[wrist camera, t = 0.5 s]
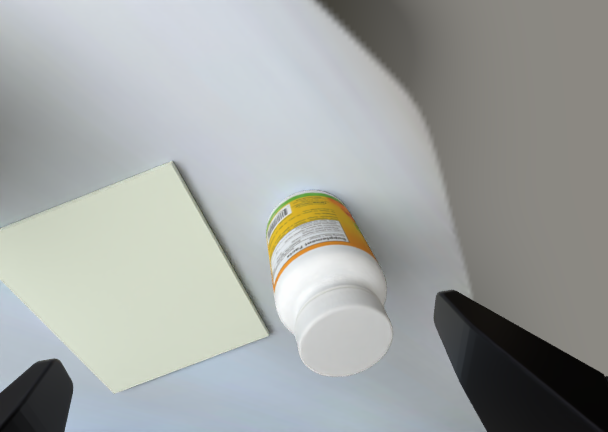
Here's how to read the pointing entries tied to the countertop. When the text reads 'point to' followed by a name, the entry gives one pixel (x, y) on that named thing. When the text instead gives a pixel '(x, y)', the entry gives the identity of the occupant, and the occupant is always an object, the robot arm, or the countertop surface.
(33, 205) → the countertop surface
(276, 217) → the supplement bottle
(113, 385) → the sage mat
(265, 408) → the countertop surface
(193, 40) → the countertop surface
